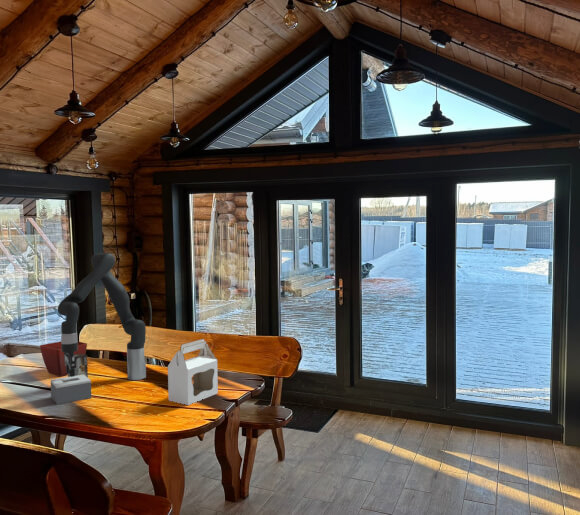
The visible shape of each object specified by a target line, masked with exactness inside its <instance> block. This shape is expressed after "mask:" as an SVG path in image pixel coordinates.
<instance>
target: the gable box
mask: <svg viewBox="0 0 580 515" xmlns="http://www.w3.org/2000/svg"><path fill="white" fill-rule="evenodd" d="M197 350H199V353H198V356H195V357H191V358H188V359H185V354H187V353H190V352H195V351H197ZM218 376H219V375H218V358H217V357H216V355H215V354H214V352H213V351H212V350H211V348H210V347H209V345H208V343H207V341H206V340H205V339H204V338H202V339H197V340H194V341H190V342H187V343H183V344H181V345H180V350H178V351H177V352H176V353H175V354H174V356H173V357H172V359H171V361H170V362H169V364H168V365H167V380H168V381H167V382H168V383H167V388H168V389H167V390H168V393H167V394H168V401H169V402H172V401H173V403H176V402H177V403H176V404H180V403H181V404H180V405H184V404H185V406H190V405H192V403H193V404H195V403H198V402H200V401H202V399H203V400H205V399H208V398H210V397H212V396H215V395H217V394H218V392H219V389H218V385H219V383H218V379H219V378H218ZM197 401H198V402H197Z"/></svg>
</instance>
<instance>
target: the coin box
mask: <svg viewBox="0 0 580 515" xmlns="http://www.w3.org/2000/svg"><path fill="white" fill-rule="evenodd" d="M50 397H51V399H52V400H53V401H54V403H55V404H56V405H62V404H67V403H72V402H78V401H82V400H84V401H85V400H88V399H89V400H90V399H92V381H91V379H90V378H89V376H88V377H86V376H85V375H84V374H83V375H77V376H73V377H68V376H65V377H61V378H60V377H59V378H52V379H50Z"/></svg>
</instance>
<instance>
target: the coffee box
mask: <svg viewBox="0 0 580 515" xmlns="http://www.w3.org/2000/svg"><path fill="white" fill-rule="evenodd" d="M75 356H76V368H75V376H77V375H83V374H84V375H85V376H86V377H88V378H89V374H88V372H89V371H88V354H85V355H84V354H76V355H75ZM72 366H73V365H72ZM67 377H70V373H69V374H68V375H67Z"/></svg>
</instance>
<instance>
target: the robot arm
mask: <svg viewBox="0 0 580 515" xmlns="http://www.w3.org/2000/svg"><path fill="white" fill-rule="evenodd" d="M90 260H91V262H90V263H91V266H92V267H93V271H91V272H90V273H89V274H88V275H86V276H85V277H84V278H83V279H82V280H80V281H79V283H78V284H77V285H76V286H75V287H74V289H73V290H72V291H71V293H69V294H68V295H67V296H66V297H64V298H63V299H62V300H61V301H60V302H59V303H58V305H57V312H58V314H59V315H60V316H64V317H65V316H66V318H65V320H64V321H62V322H61V326H60V327H61V334H60V336H61V337H60V341H61V349H62V352H64V360H65V365H66V373H67V374H69V373H70V377H73V376H75V368H76V356H75V355H74V352H76V351H77V350H78V342H79V341H78V330H77V329H78V326H77V324H78V320H79V316H80V306H79V305H78V304H79V303H82V302H84V301H85V299H86V298H87V296H89V294H90V293H91V292H92V290H93V289H94V288H95V286H96V285H97V284H98V283H99V282H100V281H101V283H102V285H103V287H104V289H105V291H106V293H107V295H108V297H109V299H110V301H111V304H112V305H113V307H114V309H115V311H116V313H117V315H118V317H119V320H120V322H121V325H122V328H123V330H124V332H125V334H126V335H128V336H130V341H128V342H127V343H126V359H127V360H126V362H127V364H126V365H127V379H128V380H129V381H130V380H131V381H139V380H143V379H146V378H147V364H146V362H147V361H146V360H145V343H146V334H147V330H146V328H147V327H146V323H145V322H144V321H143V320H142V319H136V318H135V317H134V315H133V313H132V311H131V308H130V296H129V294H128V291H127V289H126V288H125V286H124V285H123V284H122V283H121V282H120V281H119V280H118V279H117V278H116V277H115V276H114V274H113V273H112V272H111V270H112V269H113V268H114V266H115V264H116V258H115V256H114V255H113V254H112V253H110V252H99V253H94V254H93V255H92V257H91V259H90ZM72 365H73V366H72Z"/></svg>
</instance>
